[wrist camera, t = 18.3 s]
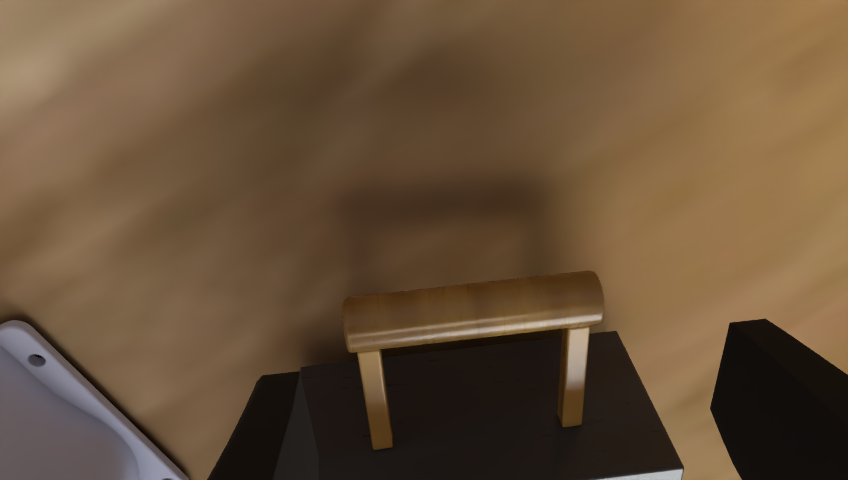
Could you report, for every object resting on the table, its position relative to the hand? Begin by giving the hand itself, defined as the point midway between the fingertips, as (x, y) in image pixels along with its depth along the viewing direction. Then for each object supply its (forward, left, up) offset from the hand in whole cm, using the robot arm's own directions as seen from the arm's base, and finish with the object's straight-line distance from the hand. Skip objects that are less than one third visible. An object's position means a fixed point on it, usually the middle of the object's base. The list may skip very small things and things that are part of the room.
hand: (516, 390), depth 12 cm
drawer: (+10, -4, -9) cm, 14 cm away
